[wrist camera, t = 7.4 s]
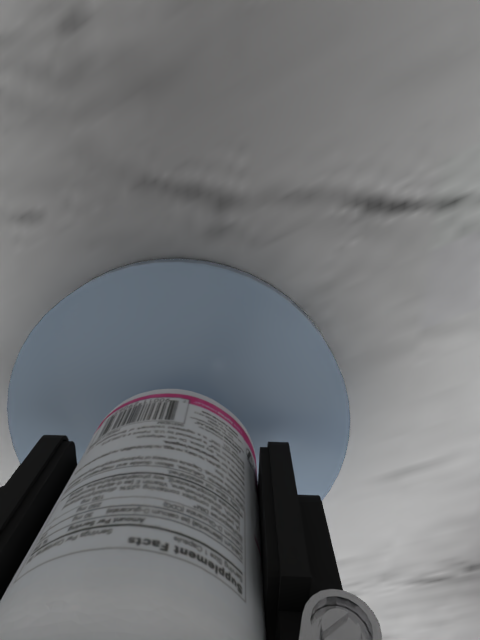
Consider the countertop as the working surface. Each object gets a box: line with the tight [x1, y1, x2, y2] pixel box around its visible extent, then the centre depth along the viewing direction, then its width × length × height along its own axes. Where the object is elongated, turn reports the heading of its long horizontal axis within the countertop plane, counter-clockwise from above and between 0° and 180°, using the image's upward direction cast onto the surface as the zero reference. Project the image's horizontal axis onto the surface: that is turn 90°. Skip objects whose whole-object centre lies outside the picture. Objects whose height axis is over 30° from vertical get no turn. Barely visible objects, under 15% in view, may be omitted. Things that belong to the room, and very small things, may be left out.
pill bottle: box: [0, 389, 266, 640], centre depth 9 cm, size 5×5×8 cm
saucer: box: [7, 258, 350, 501], centre depth 14 cm, size 11×11×1 cm
